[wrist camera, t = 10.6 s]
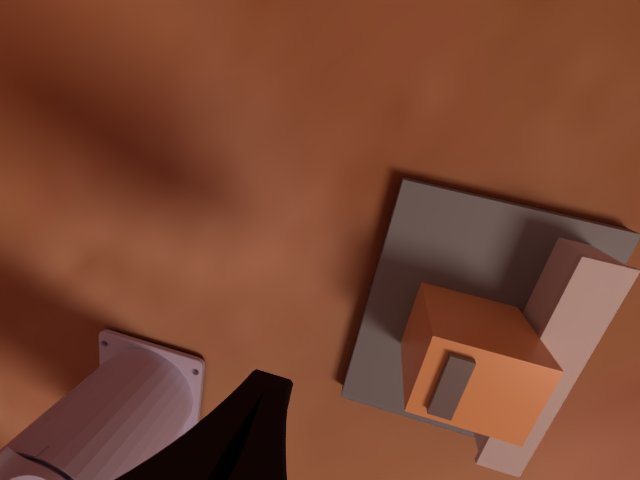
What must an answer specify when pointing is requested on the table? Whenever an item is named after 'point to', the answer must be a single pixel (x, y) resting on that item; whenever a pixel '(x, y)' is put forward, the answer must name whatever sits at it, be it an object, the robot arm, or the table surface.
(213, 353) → the table surface
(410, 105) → the table surface
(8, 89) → the table surface
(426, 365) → the block
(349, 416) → the table surface
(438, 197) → the board
